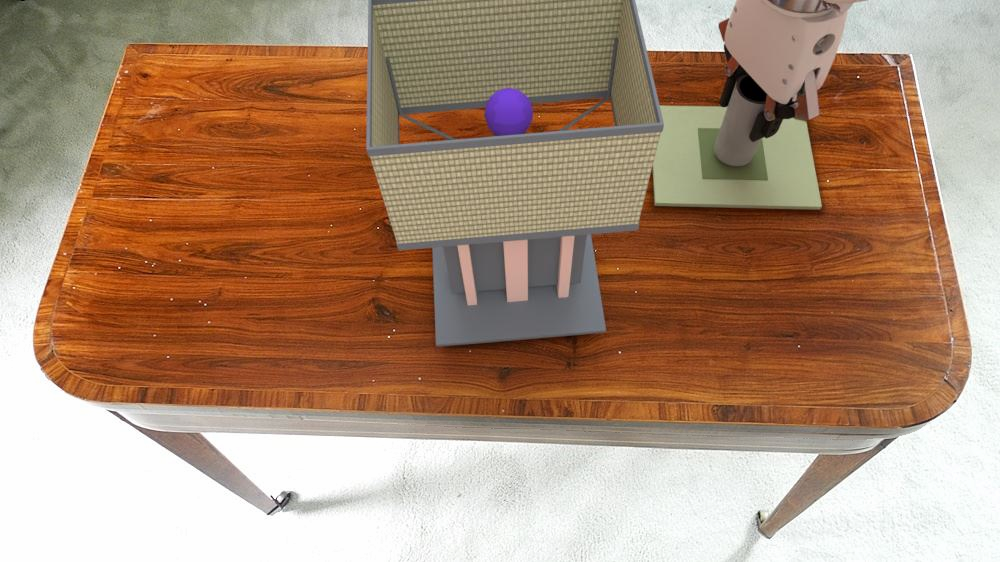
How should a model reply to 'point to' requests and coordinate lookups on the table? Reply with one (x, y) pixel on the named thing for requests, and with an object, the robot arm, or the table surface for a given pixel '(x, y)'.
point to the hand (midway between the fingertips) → (747, 116)
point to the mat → (711, 183)
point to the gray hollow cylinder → (740, 123)
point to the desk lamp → (511, 154)
